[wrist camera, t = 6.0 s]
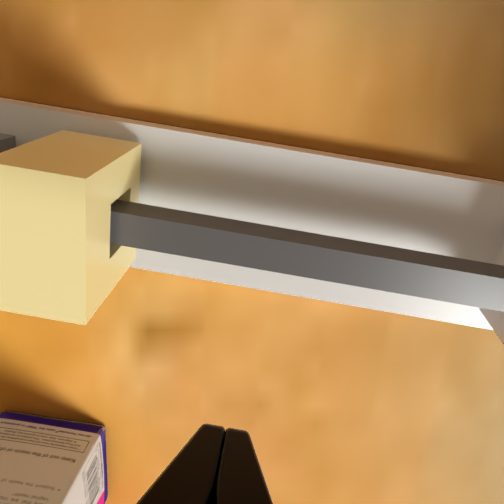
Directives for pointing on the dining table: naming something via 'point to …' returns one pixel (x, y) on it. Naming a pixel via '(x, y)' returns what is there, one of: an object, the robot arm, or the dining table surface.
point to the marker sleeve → (63, 223)
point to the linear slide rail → (299, 218)
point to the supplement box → (51, 461)
